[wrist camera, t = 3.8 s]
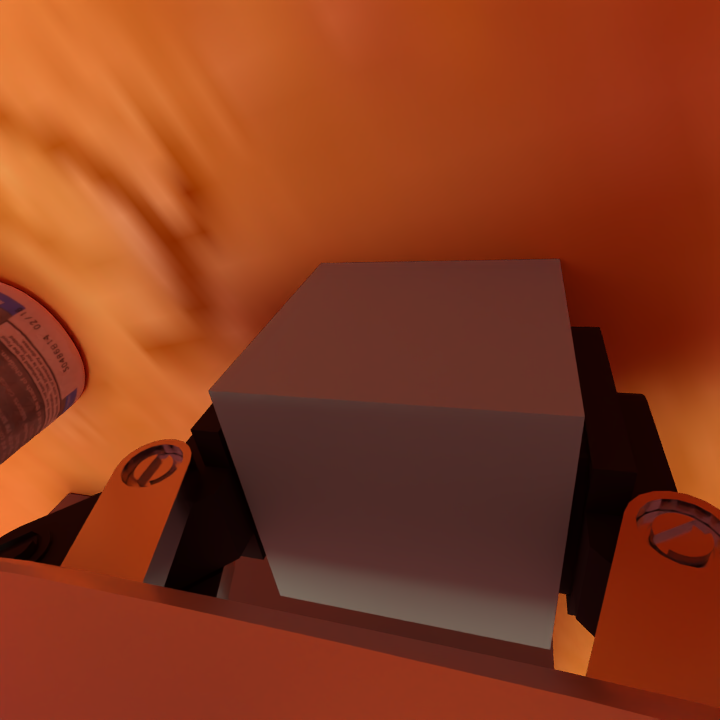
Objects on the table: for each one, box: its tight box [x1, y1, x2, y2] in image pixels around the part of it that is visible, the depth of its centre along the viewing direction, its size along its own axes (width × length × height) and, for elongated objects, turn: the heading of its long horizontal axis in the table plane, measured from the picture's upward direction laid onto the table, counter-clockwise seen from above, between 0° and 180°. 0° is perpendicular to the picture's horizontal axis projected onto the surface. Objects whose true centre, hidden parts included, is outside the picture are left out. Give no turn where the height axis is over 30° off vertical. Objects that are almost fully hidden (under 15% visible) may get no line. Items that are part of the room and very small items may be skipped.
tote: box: [48, 493, 554, 669], centre depth 19 cm, size 18×14×5 cm
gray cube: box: [209, 259, 585, 649], centre depth 10 cm, size 5×5×5 cm
